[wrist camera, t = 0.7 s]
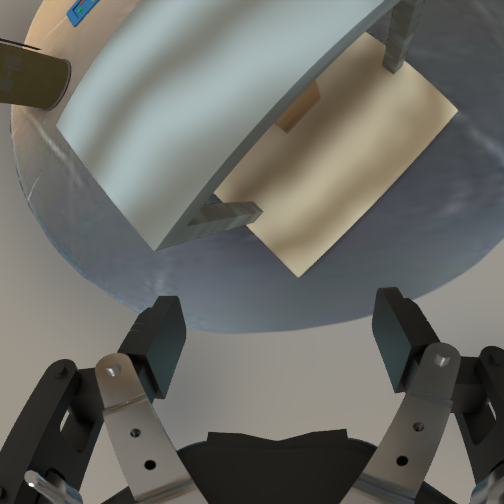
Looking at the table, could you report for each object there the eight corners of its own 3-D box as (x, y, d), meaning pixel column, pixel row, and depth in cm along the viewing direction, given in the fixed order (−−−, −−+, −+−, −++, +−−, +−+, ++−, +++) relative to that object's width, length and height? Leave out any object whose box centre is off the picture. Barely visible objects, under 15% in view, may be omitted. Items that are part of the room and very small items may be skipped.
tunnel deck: (145, 116, 35) (21, 85, 17) (263, -13, 27) (199, -112, 9) (302, 270, 32) (243, 363, 14) (449, 117, 24) (541, 42, 6)
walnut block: (251, 104, 28) (202, 63, 17) (283, 69, 26) (249, 14, 16) (287, 133, 27) (252, 100, 17) (321, 98, 26) (304, 46, 15)
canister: (58, 113, 40) (-36, 102, 22) (35, 107, 42) (-46, 99, 24) (79, 57, 37) (-10, 31, 18) (53, 58, 39) (-25, 39, 21)
